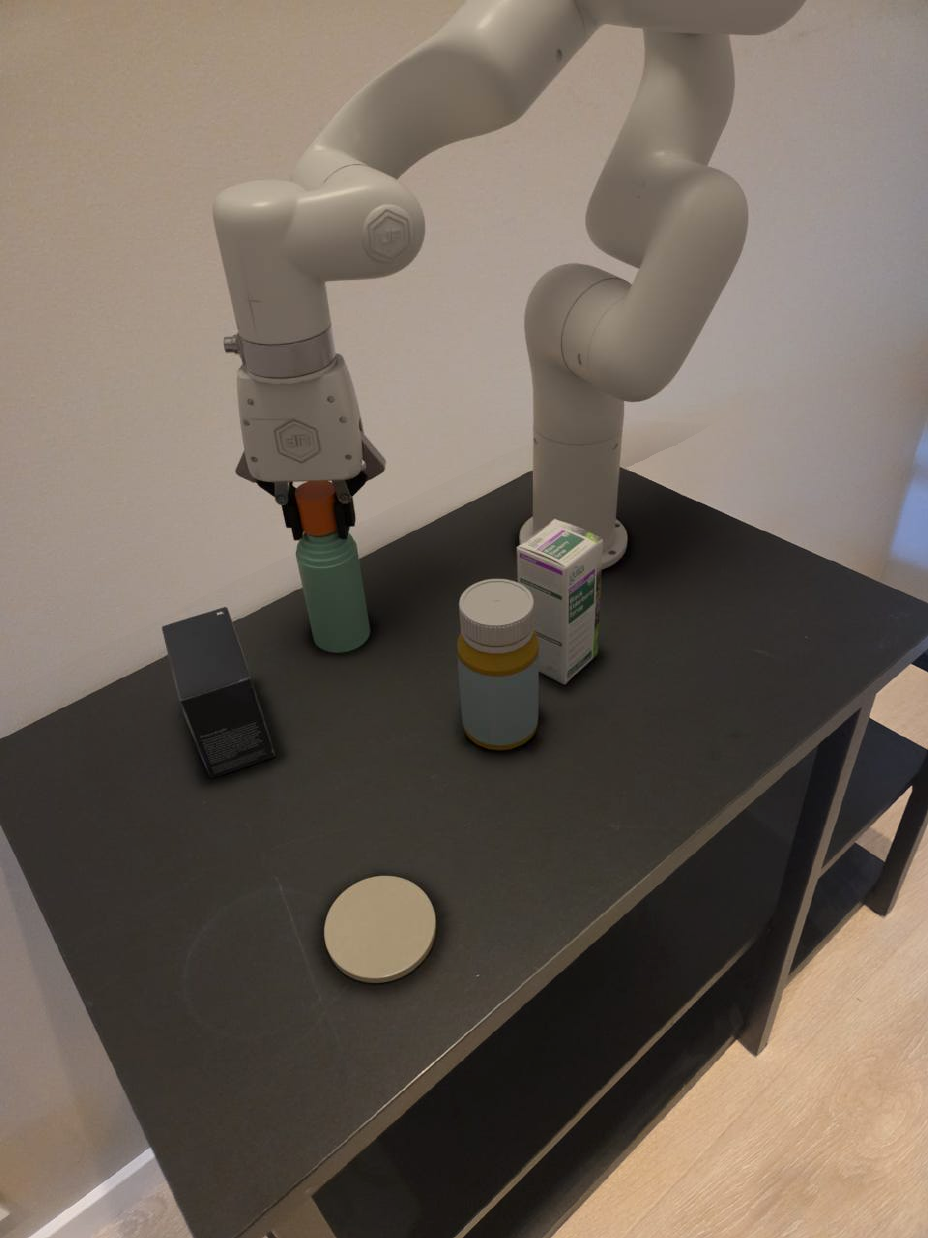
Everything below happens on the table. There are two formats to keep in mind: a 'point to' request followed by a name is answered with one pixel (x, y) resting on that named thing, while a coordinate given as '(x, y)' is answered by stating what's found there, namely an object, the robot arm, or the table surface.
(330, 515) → the cap
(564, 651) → the syrup box
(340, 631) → the sauce bottle
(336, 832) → the table surface
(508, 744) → the bottle
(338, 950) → the coaster
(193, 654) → the small box
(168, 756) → the table surface
